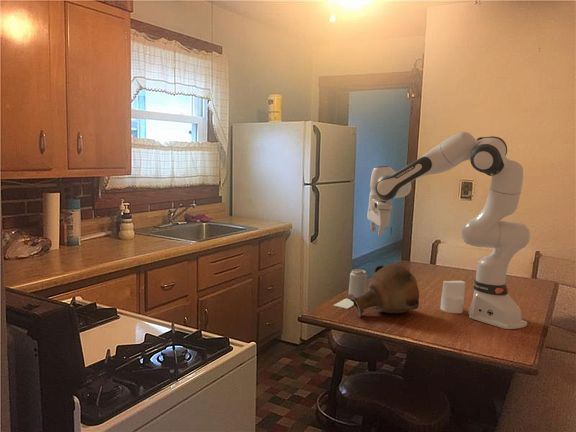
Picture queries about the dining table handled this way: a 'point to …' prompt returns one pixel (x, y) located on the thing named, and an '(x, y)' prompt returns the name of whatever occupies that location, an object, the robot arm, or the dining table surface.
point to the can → (357, 283)
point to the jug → (389, 291)
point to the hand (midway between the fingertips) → (376, 233)
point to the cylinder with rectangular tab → (453, 296)
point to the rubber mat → (344, 304)
